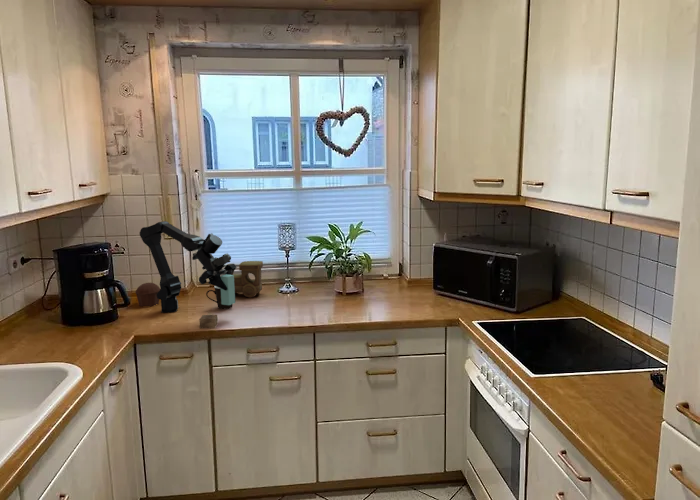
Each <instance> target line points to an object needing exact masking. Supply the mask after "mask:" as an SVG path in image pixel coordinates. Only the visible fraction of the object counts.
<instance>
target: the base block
mask: <svg viewBox="0 0 700 500" xmlns="http://www.w3.org/2000/svg"><path fill="white" fill-rule="evenodd" d="M218 320H219V318H218V314H202V315H201V316H200V318H199V319H198V321H199V329H216V327H217V326H218V324H219V322H218Z"/></svg>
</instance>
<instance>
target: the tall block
mask: <svg viewBox="0 0 700 500" xmlns="http://www.w3.org/2000/svg"><path fill="white" fill-rule="evenodd" d="M220 278H221V279H222V281H223V282H224V284H225V285H226V287H227V288H228V289H227V290H223V289H221V303H222V304H223V305H231V304H233V305H234V304H236V293H235V288H234V275H227V274H226V275H223V276H221V275H220Z"/></svg>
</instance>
